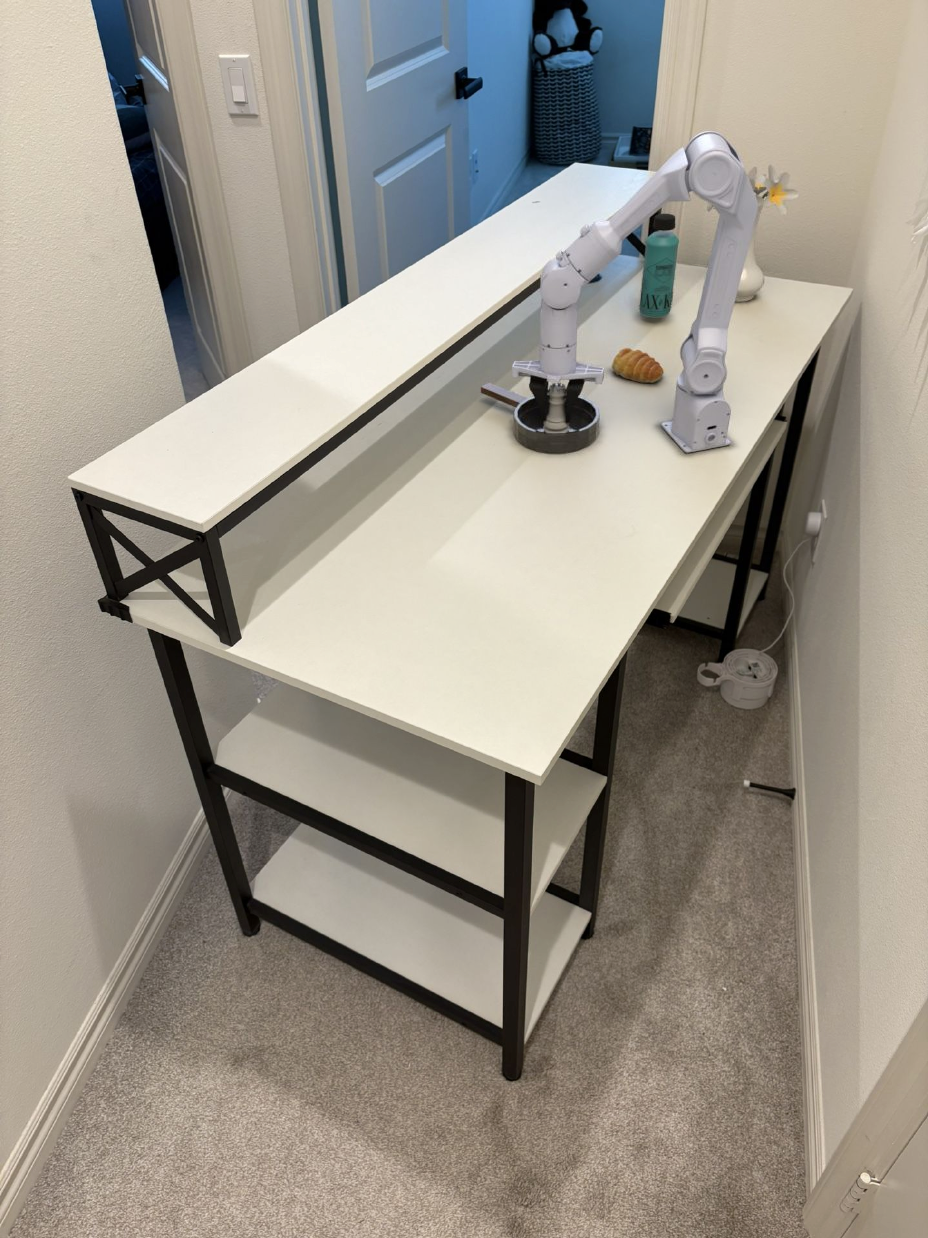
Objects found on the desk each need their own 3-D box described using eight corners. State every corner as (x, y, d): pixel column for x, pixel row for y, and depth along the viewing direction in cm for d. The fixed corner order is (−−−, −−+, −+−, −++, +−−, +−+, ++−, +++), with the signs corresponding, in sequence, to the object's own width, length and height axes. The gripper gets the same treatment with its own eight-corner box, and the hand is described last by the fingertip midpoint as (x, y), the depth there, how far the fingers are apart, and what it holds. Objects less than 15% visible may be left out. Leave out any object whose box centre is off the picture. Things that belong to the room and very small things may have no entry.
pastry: (671, 375, 162) (673, 356, 159) (648, 389, 158) (650, 369, 156) (629, 360, 167) (631, 341, 164) (607, 374, 164) (608, 354, 161)
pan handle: (531, 406, 151) (531, 399, 151) (523, 410, 150) (523, 404, 150) (489, 388, 157) (489, 382, 156) (480, 392, 156) (480, 386, 155)
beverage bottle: (631, 316, 182) (640, 213, 169) (659, 309, 184) (669, 207, 171) (649, 327, 178) (659, 223, 164) (677, 320, 179) (689, 216, 166)
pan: (611, 445, 145) (612, 425, 143) (529, 460, 143) (529, 441, 140) (580, 406, 155) (581, 387, 153) (503, 419, 153) (503, 400, 150)
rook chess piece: (548, 438, 147) (549, 394, 141) (539, 426, 150) (539, 382, 144) (573, 434, 147) (575, 389, 142) (564, 421, 151) (565, 377, 145)
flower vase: (703, 278, 195) (719, 154, 178) (787, 292, 187) (813, 163, 170) (681, 300, 187) (696, 171, 170) (768, 315, 179) (793, 182, 162)
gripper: (507, 348, 137) (508, 426, 146) (601, 355, 134) (596, 434, 143) (516, 329, 142) (517, 406, 151) (607, 335, 139) (602, 413, 148)
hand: (556, 418), depth 147 cm, fingers closed on rook chess piece, 3 cm apart
